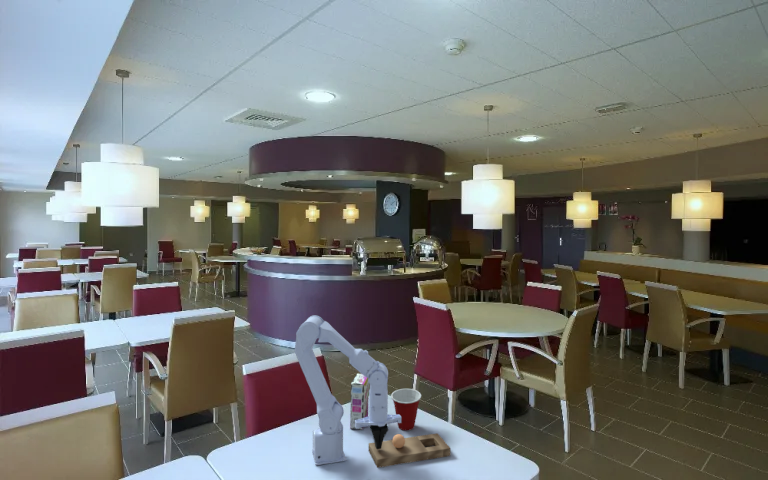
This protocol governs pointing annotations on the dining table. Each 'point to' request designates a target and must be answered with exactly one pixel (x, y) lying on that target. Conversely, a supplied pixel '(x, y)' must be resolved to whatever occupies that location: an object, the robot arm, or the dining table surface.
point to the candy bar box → (359, 399)
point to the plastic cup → (406, 407)
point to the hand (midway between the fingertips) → (378, 447)
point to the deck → (409, 450)
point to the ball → (398, 441)
